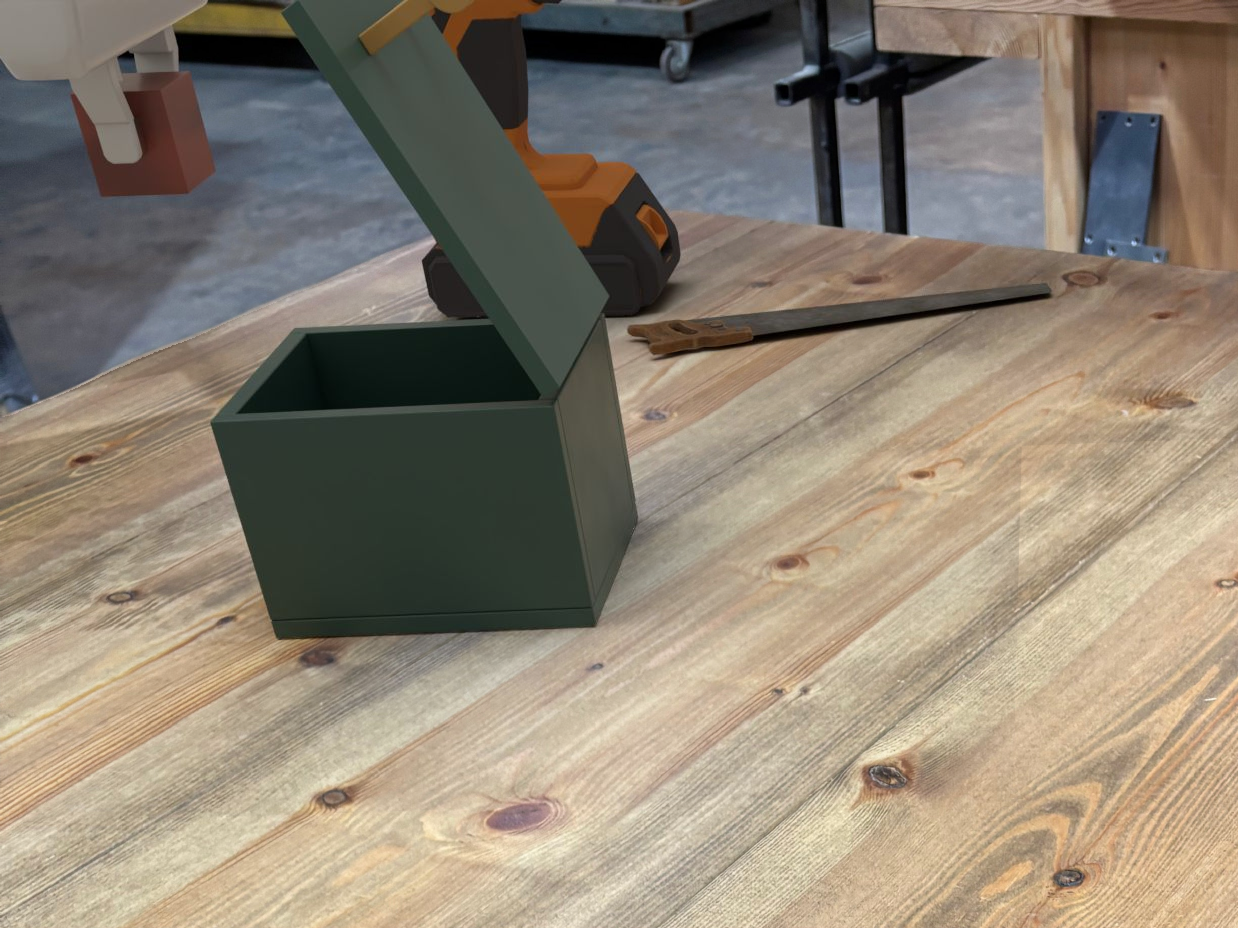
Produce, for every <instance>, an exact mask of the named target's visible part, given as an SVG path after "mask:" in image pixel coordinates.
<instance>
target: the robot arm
mask: <svg viewBox="0 0 1238 928" xmlns="http://www.w3.org/2000/svg"><path fill="white" fill-rule="evenodd" d="M208 1H209V0H0V60H1V62H3V64H4V65H5V67H6V68H7V70H8V71H9V73H10V74H11V75H12V76H13V77H14V78H15V79H17V80H19V81H26V82H27V81H28V82H29V81H33V82H34V81H63V80H64V81H65V80H68V81H69V84H70V87H71V90H72V92H74V93H75V95H76V96H77V98H78V100H79V101H80V103H81V104H82V106H83V108H84V109H85V111H86V112H87V114H88V116H89V117H90V119H91V120H92V122H93V124H95V127H96V130H97V133H98V137H99V140H100V143H101V147H102V150H103V153H104V156H105V157H106V159H107V160H108V161H110V162H111V163H113V164H124V163H135V162H137V161H138V160H140V159H141V158H142V157H144V156H145V155H146V154H147V151H148V146H147V142H146V139H145V137H144V131H143V128H142V124H141V121H140V117H139V116H138V117H133V115H132V112H131V110H130V108H129V105H128V103H127V101H126V98H125V96H124V94H123V91H122V89H121V87H120V84H119V83H120V82H122V81H123V77H122V74H121V73H122V70H121V67H120V63H119V60H118V59H119V58H118V57H119V56H121V55H123V54H124V53H126V52H129V54H133V55H134V61H135V68H136V73H147V72H175V71H179V69H180V67H179V46H178V43H177V38H176V35H175V31H174V28H173V25H174V24H175V23H177V22H179V21H181V20H182V19H184V18H186V17H188V16H189V15H191V14H192V13H194V12H196V11H198V10H200V9H201V8H203V7H204V6H206V5H207V3H208Z"/></svg>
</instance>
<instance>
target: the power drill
mask: <svg viewBox="0 0 1238 928" xmlns="http://www.w3.org/2000/svg"><path fill="white" fill-rule="evenodd" d="M562 1H563V0H475V1H473V2H472V3H471V4H470V5H469V6H468V7H467V8H465V9H464V10H463V11H461V12H459V13H453V14H451V13H445V12H443V11H441V10H439V9H437V8H436V7H435V8H434V9H433V10H431V11H430V12H429V15H430V16H431V18H432V20H433V21H434V23H435V24H436V26H437V27H438V29H439V31H440V32H441V34H442V35H443V37H444V38H445V40H446V41H447V43H448V45H449V46H450V48H451V49H452V51H453V52H454V54H455V56H456V57H457V59H458V60H459V62H460V63H461V65H462V66H463V68H464V70H465V71H466V73H467V74H468V76H469V77H470V79H471V81H472V82H473V84H474V85H475V87H476V88H477V90H478V91H479V93H480V95H481V96H482V98H483V99H484V101H485V102H486V104H487V106H488V107H489V109H490V110H491V112H492V113H493V115H494V116H495V118H496V120H497V121H498V123H499V124H500V126H501V127H502V129H503V131H504V132H505V134H506V135H507V137H508V138H509V140H510V141H511V143H512V145H513V146H514V148H515V149H516V151H517V152H518V154H519V156H520V157H521V159H522V160H523V162H524V163H525V165H526V166H527V168H528V170H529V171H530V173H531V174H532V176H533V177H534V179H535V181H536V182H537V184H538V185H539V187H540V188H541V190H542V191H543V193H544V195H545V196H546V198H547V199H548V201H549V202H550V204H551V206H552V207H553V209H554V210H555V212H556V213H557V215H558V216H559V218H560V220H561V221H562V223H563V224H564V226H565V227H566V229H567V231H568V232H569V234H570V235H571V237H572V238H573V240H574V241H575V243H576V245H577V246H578V248H579V249H580V251H581V252H582V254H583V256H584V257H585V259H586V260H587V262H588V263H589V265H590V266H591V268H592V270H593V271H594V273H595V274H596V276H597V277H598V279H599V281H600V282H601V284H602V285H603V287H604V288H605V290H606V291H607V293H608V295H609V298H608V300H607V302H606V304H605V305H604V307H603V309H602V311H601V313H604V315H605V317H632V316H633V315H635V314H637V313H638V312H639V311H640V309H641V307H646V306H651V305H652V304H653V303H655V301H656V300H658V298H659V296H660V294H661V293H662V291H663V289H664V288H665V286H666V285H667V283H668V281H669V279H670V278H671V276H672V274H673V273H674V271H675V269H676V268H677V265H678V264H679V263H680V260H681V254H682V252H681V247H680V238H679V232H678V229H677V226H676V224H675V223H674V221H673V220H672V218H671V217H670V215H669V214H668V213H667V211H666V210H665V209H664V207H663V205H662V204H661V202H660V201H659V200H658V199H657V197H656V195H654V193H653V191H652V190H651V188H650V186H648V183H646V181H645V180H644V179H643V177H642V175H641V174H640V173H639V172H638V171H637V170H636V169H635V168H634V167H633V166H631V164H628V163H625V162H623V161H597V159H596V157H594V155H592V154H590V153H540V152H538V151H537V150H536V149H535V148H534V147H533V145H532V144H531V142H530V139H529V134H528V129H529V126H528V125H529V77H528V75H529V74H528V58H527V50H526V43H525V38H524V31H523V25H522V15H526V14H527V15H528V14H529V15H531V14H536V13H538V12H539V11H540V10H541V9H542V8H543V7H544V6H545V5H546V4H552V5H553V4H554V5H559V4H560V3H561V2H562ZM433 239H434V241H435V244H434V245H433V246H432V248H431V249H430V250H428V252H427V253H426V254H425V256H423V258H422V259H421V265H422V270H423V274H424V279H425V280H424V281H425V285H426V289H427V295H428V297H429V298H430V299H431V301H432V302H433V303H434V304H435V305H436V310H438V311H439V312H440V313H441V314H442V315H444V316H445V317H447V318H449V319H450V318H451V317H457V318H482V317H481V316H484V317H483V318H489V317H488V316H487V315H486V313H485V312H484V310H483V309H482V307H481V306H480V304H479V303H478V301H477V300H476V298H475V297H474V295H473V294H472V293H471V291H470V290H469V288H468V287H467V285H466V284H465V282H464V281H463V279H462V278H461V276H460V275H459V274H458V272H457V271H456V269H455V268H454V266H453V265H452V263H451V262H450V260H449V259H448V257H447V256H446V254H445V253H444V252H443V250H442V249H441V247H440V246H439V244H438V243H437V241H436V240H435V238H434V237H433ZM625 315H627V316H625ZM477 316H479V317H477ZM451 319H452V318H451Z"/></svg>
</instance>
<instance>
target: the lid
mask: <svg viewBox="0 0 1238 928" xmlns="http://www.w3.org/2000/svg"><path fill="white" fill-rule="evenodd" d="M473 1H475V0H294V1H293V2H292V3H290V4H289V5H287V6H286V7H285V8H284V9H282V10H281V11H280V14H281V16H282V17H283V19H284V20H285V22H286V23H287V24H288V26H289V28H290V29H291V30H292V32H293V33H294V35H295V37H296V38H297V40H298V41H299V42H300V43H301V45H302V47H303V48H304V50H305V51H306V52H307V54H308V55H309V57H310V58H311V59H312V61H313V63H314V65H315V66H316V67H317V69H318V70H319V72H320V73H321V74H322V76H323V78H324V79H325V80H326V81H327V83H328V85H329V86H330V88H331V89H332V90H333V93H335V95H336V96H337V98H338V99H339V101H340V102H341V103H342V105H343V106H344V108H345V110H346V111H347V112H348V114H349V116H350V117H351V118H352V120H353V121H354V123H355V124H356V126H357V127H358V129H359V130H360V132H361V133H362V134H363V136H364V138H365V139H366V140H367V142H368V143H369V145H370V146H371V148H372V149H373V150H374V152H375V153H376V155H377V156H378V158H379V159H380V161H381V162H382V164H383V166H384V167H385V168H386V170H387V171H388V173H389V174H390V176H391V177H392V179H393V180H394V181H395V182H396V184H397V186H398V187H399V189H400V190H401V192H402V193H403V194H404V196H405V197H406V199H407V201H408V202H409V203H410V205H411V206H412V207H413V209H414V210H415V212H416V214H417V215H418V216H419V218H420V219H421V221H422V223H423V224H424V226H425V227H426V229H428V231H429V232H430V234H431V236H432V237H433V239H434V238H435V239H434V241H435V240H436V241H437V243H438V244H439V246H440V247H441V249H442V250H443V252H444V253H445V254H446V256H447V257H448V259H449V260H450V262H451V263H452V265H453V266H454V268H455V269H456V271H457V272H458V274H459V275H460V276H461V278H462V279H463V281H464V282H465V284H466V285H467V287H468V288H469V290H470V291H471V293H472V294H473V295H474V297H475V298H476V300H477V301H478V303H479V304H480V306H481V307H482V309H483V310H484V312H485V313H486V315H487V316H488V317H487V318H488V319H490V320H491V322H492V323H493V325H494V326H495V328H496V329H497V331H498V332H499V334H500V335H501V337H502V338H503V339H504V341H505V342H506V344H507V345H508V347H509V348H510V350H511V351H512V353H513V354H514V356H515V357H516V358H517V360H518V361H519V363H520V364H521V366H522V367H523V369H524V370H525V372H526V373H527V375H528V376H529V378H530V379H531V380H532V382H533V383H534V385H535V386H536V388H537V389H538V391H539V392H540V394H541V395H542V397H543V398H545V397H546V396H548V395H550V394H551V393H553V392H554V391H556V390H557V389H559V388H560V386H561V384H562V382H563V380H564V379H565V377H566V375H567V373H568V371H569V369H570V368H571V366H572V364H573V362H574V360H575V358H576V357H577V355H578V353H579V351H580V349H581V347H582V346H583V344H584V342H585V340H586V338H587V337H588V335H589V333H590V331H591V329H592V327H593V326H594V324H595V322H596V320H597V318H598V316H599V315H600V313H601V311H602V309H603V307H604V305H605V304H606V302H607V300H608V298H609V295H608V293H607V291H606V290H605V288H604V287H603V285H602V284H601V282H600V281H599V279H598V277H597V276H596V274H595V273H594V271H593V270H592V268H591V266H590V265H589V263H588V262H587V260H586V259H585V257H584V256H583V254H582V252H581V251H580V249H579V248H578V246H577V245H576V243H575V241H574V240H573V238H572V237H571V235H570V234H569V232H568V231H567V229H566V227H565V226H564V224H563V223H562V221H561V220H560V218H559V216H558V215H557V213H556V212H555V210H554V209H553V207H552V206H551V204H550V202H549V201H548V199H547V198H546V196H545V195H544V193H543V191H542V190H541V188H540V187H539V185H538V184H537V182H536V181H535V179H534V177H533V176H532V174H531V173H530V171H529V170H528V168H527V166H526V165H525V163H524V162H523V160H522V159H521V157H520V156H519V154H518V152H517V151H516V149H515V148H514V146H513V145H512V143H511V141H510V140H509V138H508V137H507V135H506V134H505V132H504V131H503V129H502V127H501V126H500V124H499V123H498V121H497V120H496V118H495V116H494V115H493V113H492V112H491V110H490V109H489V107H488V106H487V104H486V102H485V101H484V99H483V98H482V96H481V95H480V93H479V91H478V90H477V88H476V87H475V85H474V84H473V82H472V81H471V79H470V77H469V76H468V74H467V73H466V71H465V70H464V68H463V66H462V65H461V63H460V62H459V60H458V59H457V57H456V56H455V54H454V52H453V51H452V49H451V48H450V46H449V45H448V43H447V41H446V40H445V38H444V37H443V35H442V34H441V32H440V31H439V29H438V27H437V26H436V24H435V23H434V21H433V20H432V18H431V16H430V15H429V12H430V11H431V10H433V9H434V8H435V7H436V8H437V9H439V10H441V11H443V12H445V13H451V14H453V13H459V12H461V11H463V10H464V9H465V8H467V7H468V6H469V5H470V4H471V3H472V2H473ZM436 241H435V242H436Z"/></svg>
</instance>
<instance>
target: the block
mask: <svg viewBox="0 0 1238 928" xmlns="http://www.w3.org/2000/svg"><path fill="white" fill-rule="evenodd" d="M121 74H122V77H123V81H122V82H120V83H119V84H120V87H121V89H122V91H123V94H124V96H125V98H126V101H127V103H128V105H129V108H130V110H131V112H132V115H133V117H138V116H139V117H140V121H141V124H142V128H143V131H144V137H145V139H146V142H147V146H148V151H147V154H146V155H145V156H144V157H142V158H141V159H140V160H138V161H137V162H135V163H124V164H113V163H111V162H110V161H108V160H107V159H106V157H105V156H104V153H103V150H102V147H101V143H100V140H99V137H98V133H97V130H96V127H95V124H93V122H92V120H91V119H90V117H89V116H88V114H87V112H86V111H85V109H84V108H83V106H82V104H81V103H80V101H79V100H78V98H77V96H76V95H75V93H74V92H73V91H72V92H71V93H70V94H69V95H70V99H71V102H72V105H73V109H74V112H75V116H76V119H77V123H78V126H79V129H80V133H81V136H82V139H83V142H84V145H85V149H86V152H87V156H88V159H89V163H90V165H91V169H92V172H93V175H94V179H95V182H96V186H97V189H98V192H99V195H100V197H101V198H108V197H135V196H136V197H138V196H140V197H141V196H168V195H169V196H170V195H189V194H190V193H191V192H192V191H194V190H195V189H197V187H199V186H201V185H202V184H203V183H204V182H205V181H206V180H207V179H209V178H210V177H211V176H212V175H214V174H215V173H216V172H217V169H216V165H215V162H214V157H213V154H212V150H211V147H210V143H209V139H208V136H207V131H206V128H205V124H204V119H203V117H202V112H201V108H200V104H199V101H198V97H197V94H196V89H195V86H194V82H193V78H192V74H191V72H190V70H180V71H175V72H147V73H137V72H121Z"/></svg>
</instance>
